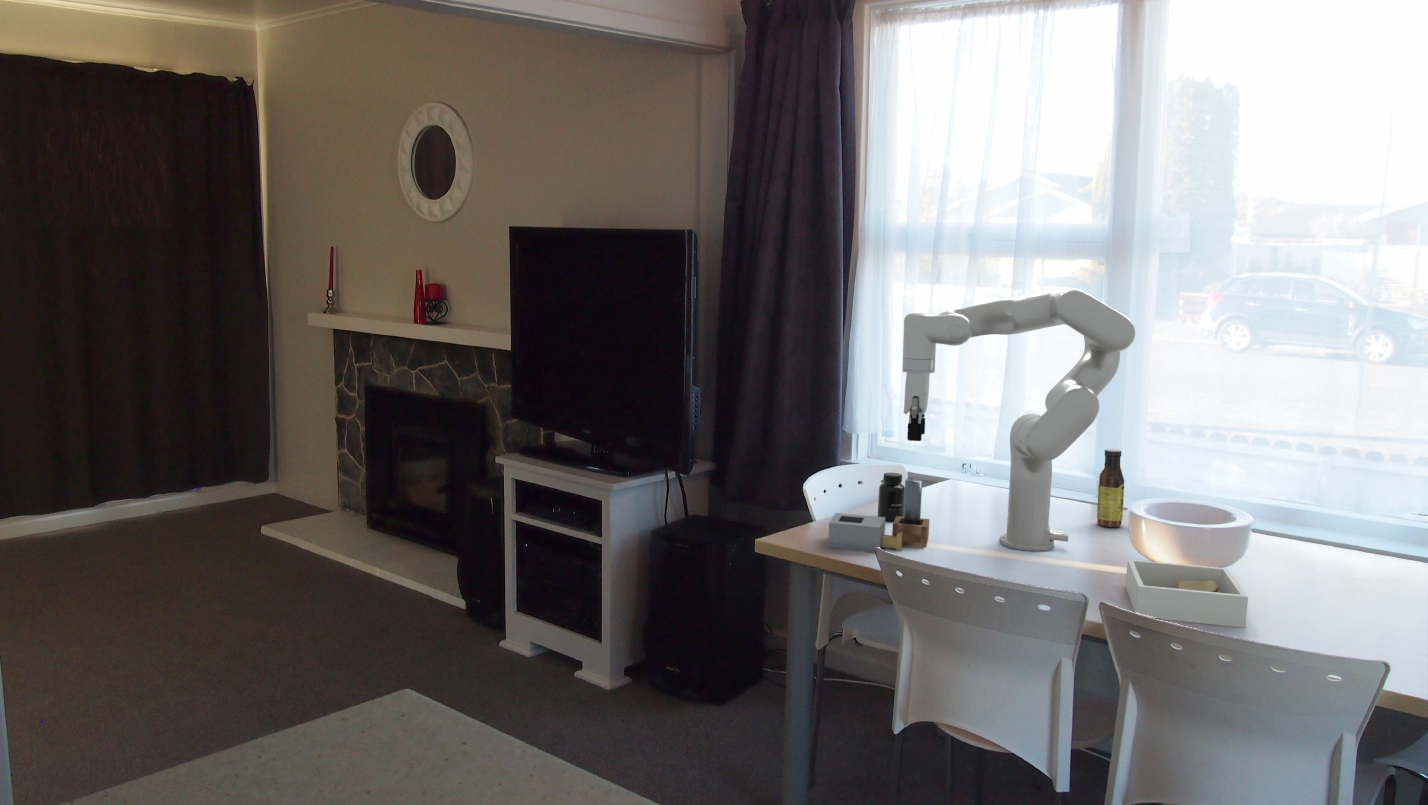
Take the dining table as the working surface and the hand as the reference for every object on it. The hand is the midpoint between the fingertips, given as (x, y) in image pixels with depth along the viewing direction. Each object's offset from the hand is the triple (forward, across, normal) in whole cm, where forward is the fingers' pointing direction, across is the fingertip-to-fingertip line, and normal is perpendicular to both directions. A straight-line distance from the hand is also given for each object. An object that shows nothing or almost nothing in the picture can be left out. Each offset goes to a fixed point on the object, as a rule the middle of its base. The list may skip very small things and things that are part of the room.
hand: (916, 437), depth 243 cm
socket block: (+26, +7, -12) cm, 29 cm away
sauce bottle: (+26, -34, +48) cm, 64 cm away
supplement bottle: (+26, -21, -8) cm, 34 cm away
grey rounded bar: (+25, 0, 0) cm, 25 cm away
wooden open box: (+26, 0, 0) cm, 26 cm away
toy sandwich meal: (+27, +28, +56) cm, 68 cm away
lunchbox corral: (+26, +30, +56) cm, 68 cm away
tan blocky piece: (+25, +7, -6) cm, 27 cm away
